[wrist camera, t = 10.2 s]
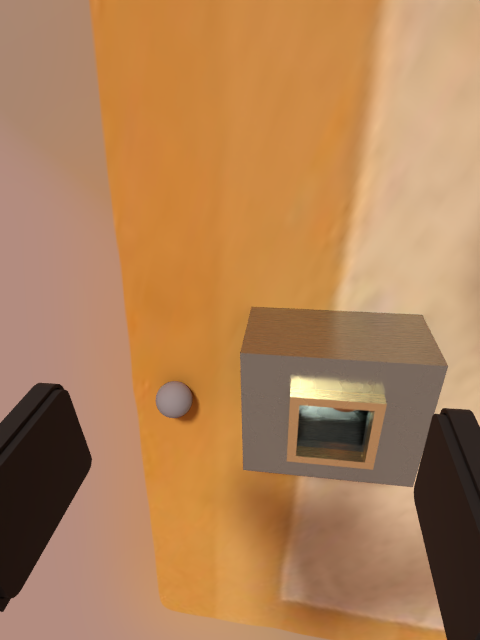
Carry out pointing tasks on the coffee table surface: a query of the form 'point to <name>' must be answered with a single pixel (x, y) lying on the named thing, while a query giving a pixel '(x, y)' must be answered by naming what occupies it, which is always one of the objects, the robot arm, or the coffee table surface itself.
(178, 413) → the bead
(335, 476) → the grey box with opening
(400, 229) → the coffee table surface
